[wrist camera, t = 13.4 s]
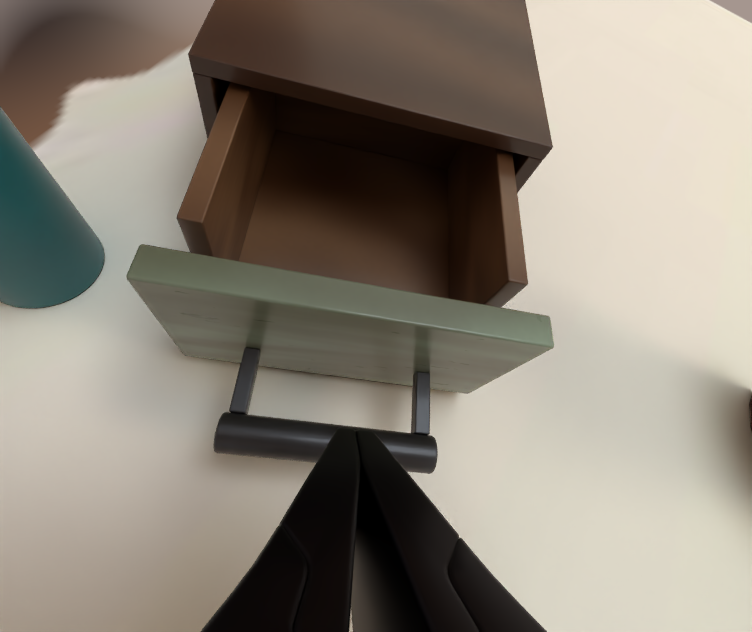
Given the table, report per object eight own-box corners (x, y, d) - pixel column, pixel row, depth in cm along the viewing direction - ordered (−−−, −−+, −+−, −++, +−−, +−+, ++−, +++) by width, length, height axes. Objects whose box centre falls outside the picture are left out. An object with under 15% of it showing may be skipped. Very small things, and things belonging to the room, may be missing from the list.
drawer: (471, 481, 17) (574, 475, 11) (152, 450, 14) (60, 422, 9) (461, 178, 25) (516, 78, 19) (255, 130, 22) (244, 1, 17)
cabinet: (466, 258, 23) (553, 147, 16) (223, 210, 21) (187, 53, 13) (460, 98, 30) (519, -34, 22) (276, 48, 27) (272, -117, 20)
